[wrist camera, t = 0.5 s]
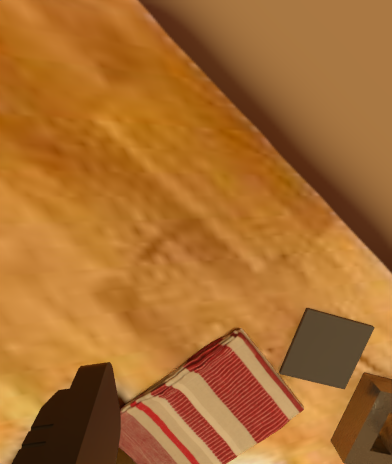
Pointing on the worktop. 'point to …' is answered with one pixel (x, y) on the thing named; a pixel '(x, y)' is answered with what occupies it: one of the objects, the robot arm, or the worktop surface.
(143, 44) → the worktop surface
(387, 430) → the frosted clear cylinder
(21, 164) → the worktop surface
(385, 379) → the bore block
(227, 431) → the dish towel
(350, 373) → the rubber mat
